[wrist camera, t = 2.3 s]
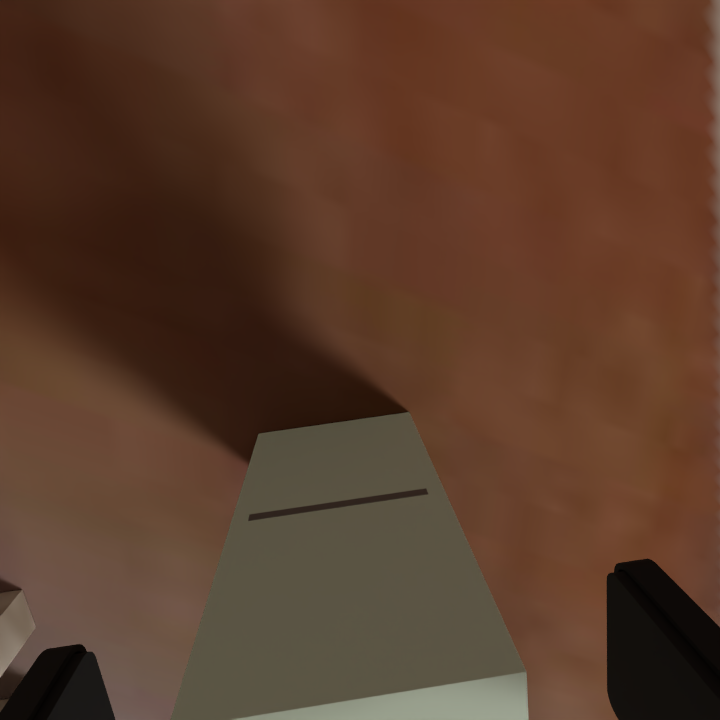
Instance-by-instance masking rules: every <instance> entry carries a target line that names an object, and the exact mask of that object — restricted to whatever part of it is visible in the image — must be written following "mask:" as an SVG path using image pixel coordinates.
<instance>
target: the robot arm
mask: <svg viewBox="0 0 720 720" xmlns="http://www.w3.org/2000/svg"><path fill="white" fill-rule="evenodd" d="M607 691H608V696H609V700H610V703H611V706H612V708H613V710H614V712H615V714H616V716H617V718H618V719H619V720H720V627H719V626H718V625H717V624H716V623H715V622H714V621H713V620H712V619H711V618H710V617H709V616H708V615H707V614H706V613H705V612H704V611H703V610H702V609H701V608H700V607H699V606H698V605H697V604H696V603H695V602H694V601H693V600H692V599H691V598H690V597H689V596H688V595H687V594H686V593H685V592H684V591H683V590H682V589H681V588H680V587H679V586H678V585H677V584H676V583H675V582H674V581H673V580H672V579H671V578H670V577H669V576H668V575H667V574H666V573H665V572H664V571H663V570H662V569H661V568H660V567H659V566H658V565H657V564H656V563H655V562H654V561H652V560H650V559H643V560H636V561H629V562H623V563H618V564H616V566H615V569H614V573H610V574H608V576H607ZM0 720H115V717H114V714H113V711H112V707H111V704H110V701H109V698H108V695H107V691H106V688H105V685H104V682H103V679H102V675H101V672H100V669H99V666H98V663H97V659H96V657H95V655H94V653H93V652H87V651H86V649H85V647H84V646H83V645H80V644H77V645H70V646H64V647H57V648H50V649H46V650H45V651H43V652H42V653H41V654H40V655H39V656H38V658H37V659H36V661H35V662H34V664H33V665H32V667H31V668H30V669H29V671H28V672H27V674H26V675H25V677H24V678H23V680H22V681H21V683H20V684H19V685H18V687H17V688H16V690H15V691H14V693H13V694H12V696H11V697H10V699H9V700H8V701H7V703H6V704H5V706H4V707H3V709H2V710H1V712H0Z"/></svg>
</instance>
